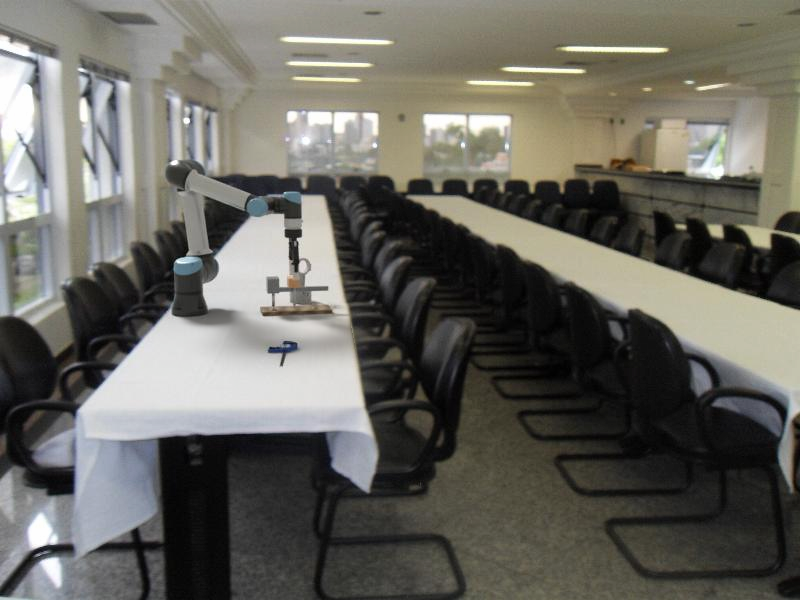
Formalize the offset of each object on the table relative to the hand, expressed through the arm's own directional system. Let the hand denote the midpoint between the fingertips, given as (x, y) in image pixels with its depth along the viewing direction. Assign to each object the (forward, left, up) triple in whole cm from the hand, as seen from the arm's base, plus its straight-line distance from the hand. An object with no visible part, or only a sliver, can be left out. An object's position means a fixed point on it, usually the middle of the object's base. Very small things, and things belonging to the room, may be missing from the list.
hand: (294, 277), depth 345 cm
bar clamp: (-13, -76, -16) cm, 79 cm away
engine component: (+6, +23, -15) cm, 28 cm away
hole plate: (+1, 0, -15) cm, 15 cm away
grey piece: (+2, 0, -14) cm, 14 cm away
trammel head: (0, 0, -13) cm, 13 cm away
